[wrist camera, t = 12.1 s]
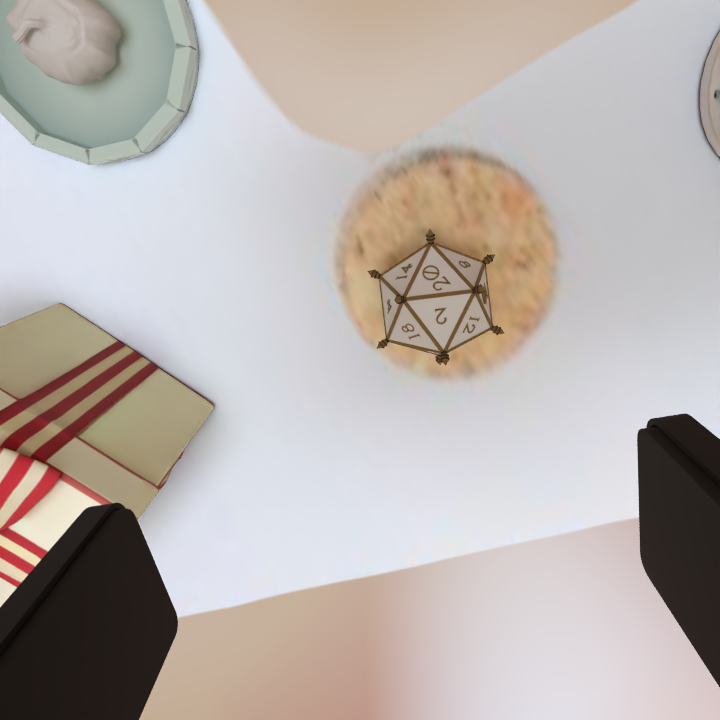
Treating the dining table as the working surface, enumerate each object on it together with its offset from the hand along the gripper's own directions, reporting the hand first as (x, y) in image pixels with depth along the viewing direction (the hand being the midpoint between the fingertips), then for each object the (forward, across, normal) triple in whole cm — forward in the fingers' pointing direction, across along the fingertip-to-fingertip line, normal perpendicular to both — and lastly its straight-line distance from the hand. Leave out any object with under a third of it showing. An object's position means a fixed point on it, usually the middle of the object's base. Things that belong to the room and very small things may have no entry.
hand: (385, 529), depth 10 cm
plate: (+30, +16, -17) cm, 38 cm away
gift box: (+31, +27, +8) cm, 42 cm away
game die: (+31, -3, +3) cm, 31 cm away
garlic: (+30, +16, -17) cm, 38 cm away
